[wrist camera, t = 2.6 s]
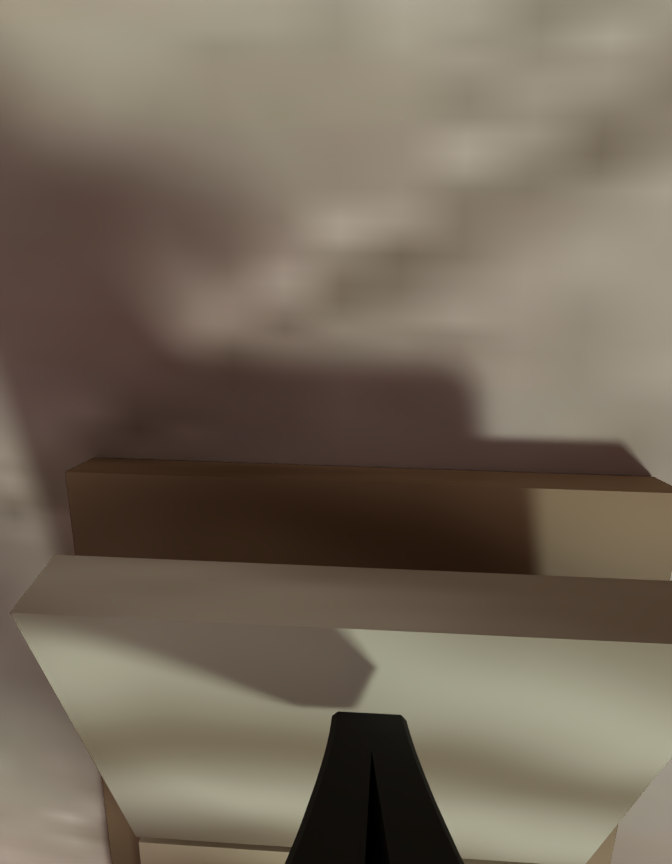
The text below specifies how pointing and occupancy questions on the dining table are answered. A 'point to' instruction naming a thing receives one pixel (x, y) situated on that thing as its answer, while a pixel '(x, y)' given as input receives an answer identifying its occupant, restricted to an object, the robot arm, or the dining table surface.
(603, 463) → the dining table surface
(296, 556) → the floor board
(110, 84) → the dining table surface
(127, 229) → the dining table surface
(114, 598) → the angled plank
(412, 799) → the robot arm
